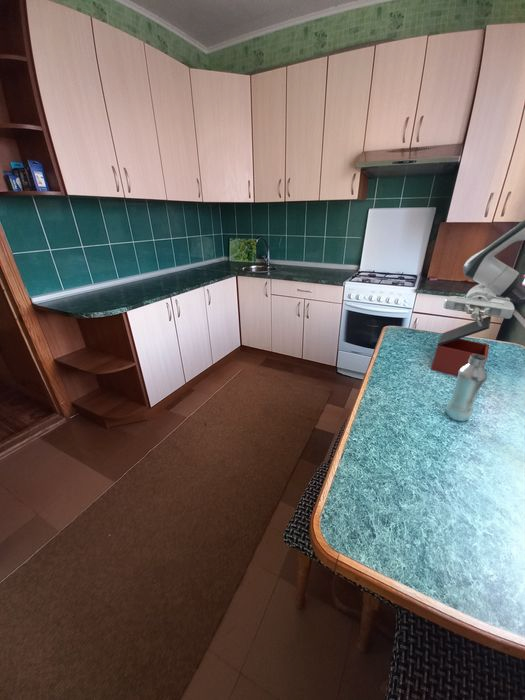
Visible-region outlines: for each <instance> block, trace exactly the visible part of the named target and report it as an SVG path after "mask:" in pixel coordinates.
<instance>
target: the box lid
mask: <svg viewBox="0 0 525 700" xmlns="http://www.w3.org/2000/svg"><path fill="white" fill-rule="evenodd" d="M479 312H480V309H479V308H478V307H476V308H474V309H473V311H472V314H470V318H471V319H473V320H475V321H473V322H469V323H467V324H464V325H461V326H459V327H456V328H453V329H451V330H447V331H445V332H443V333H442V334H441V336H440V338H439V340H438V342H437V347H438V346H439V345H442V344H445V343H448V342H451V341H454V340H457V339H464V338H466V337H469V336H472V335H475V334H477V333H481V332H483V331H486V330H488V329H490V327H491V320H492V316H488V315H487V316H486V317H483V316H479Z"/></svg>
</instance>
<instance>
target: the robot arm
mask: <svg viewBox="0 0 525 700" xmlns="http://www.w3.org/2000/svg"><path fill="white" fill-rule="evenodd" d="M520 241H525V219H524V220H523V221H521V222H519V223H517V224H516V225H515V226H513V227H512V228H510V229H509V230H508V231H506V232H504V234H502V235H501V236H500V237H497V239H496V240H494V241H493V242H491V243H490V244H488V246H486V247H485V248H483V249H481V250H480V251H479V252H477V253H475V254H473V255H472V256H470V257H469V258H468V259H467V260H466V261H465V263H464V264H463V266H462V271H463V275H464V276H465V277H467V278H468V279H470V280H472V281H474V282H476V283H477V284H476V285H474V286H472V287H471V288H470V289H469V290H468V291H467V292H466V296H457V295H449V296H448V297H446V298H445V300H444V304H443V309H445V310H450V311H456V312H463V313H466V315H467V314H468V315H471V314H472V311H473V309H474V308H476V307H478V308H479V309H480V312H479V316H481V317H484V316H487V317H488V316H491V317H494V318H500V319H507V320H508V319H511V318H512V317H513V314H514V313H515V309H516V308H515V305H514V304H513V302H512V301H511V298H510V297H507V296H509V295H510V294H511V293H513V291H514V290H515V289H517V287H518V285H519V283H520V280H521V273H520V272H519V271H518V270H516V269H514V268H513V267H511V266H509V265H507V264H506V263H504V262H503V261H501V260H499V259H498V258H496V257H495V256H496V255H498V254H499V253H500V252H502V251H503V250H505V249H506V248H507V247H509V246H511V245H512V244H515V242H520Z"/></svg>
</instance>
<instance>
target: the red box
mask: <svg viewBox="0 0 525 700" xmlns="http://www.w3.org/2000/svg"><path fill="white" fill-rule="evenodd" d="M489 350H490V344H489V343H483V342H478V341H473V340H468V339H464V338H460V339H457V340H454V341H451V342H448V343H445V344H442V345H439V346H438V345H437V347H436V351H435V354H434V358H433V361H432V365H431V368H430V370H431V371H434V372H435V371H436V372H439V373H442V374H446V375H449V376H453V377H458V372H459V370H460V368H461V367H462V366H464V365H465V364H467V363H469V362H468V360H469V358H470V356H471V355H472V354H479V355H482V356H484V357H486V358H487V359H486V362H485V364H486V363H487V361H488V358H489ZM483 367H484V368H485V366H483Z"/></svg>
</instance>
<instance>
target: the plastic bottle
mask: <svg viewBox="0 0 525 700" xmlns="http://www.w3.org/2000/svg"><path fill="white" fill-rule="evenodd" d="M486 359H487V360H488V358H486V357H484V356H482V355H479V354H472V355H471V356H470V358H469V360H468V362H469V363H467V364H465V365H464V366H462V367H461V368H460V370H459V372H458V377H457V376H456V377H457V379H456V384H455V387H454V391H453V393H452V395H451V396H450V398H449V400H448V401H447V404H446V406H445V407H446V408H445V412H446V414H447V416H448V417H449V418H451V419H452V420H455V421H457V422H465V421H467V420H470V418H471V417H472V416H473V413H474V405H475V402H476V398H477V396H478V394H479V392H480V389H481V388H482V387H483V385H484V383H485V382H486V380H487V371H486V370H485V366H486V363H487V360H486ZM485 362H486V363H485ZM483 366H484V367H483Z"/></svg>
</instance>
